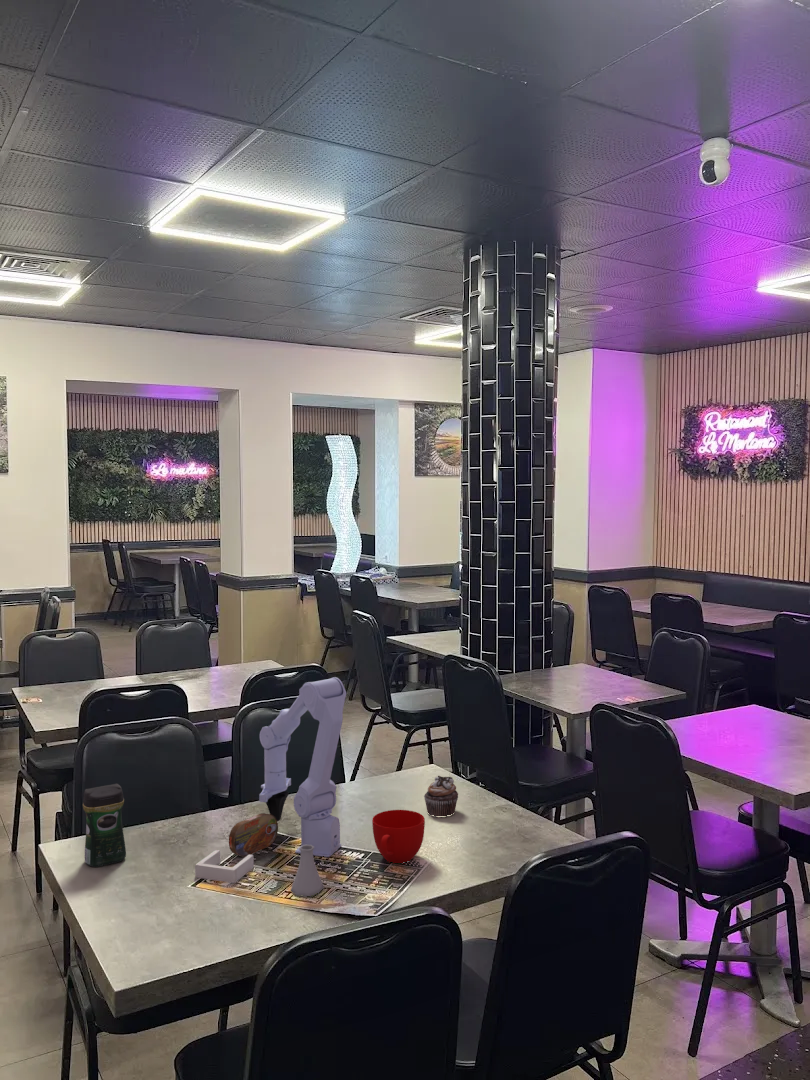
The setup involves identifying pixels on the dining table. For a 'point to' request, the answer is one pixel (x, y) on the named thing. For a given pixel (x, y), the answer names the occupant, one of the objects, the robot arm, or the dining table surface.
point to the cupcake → (441, 797)
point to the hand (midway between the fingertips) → (275, 820)
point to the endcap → (222, 868)
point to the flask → (307, 874)
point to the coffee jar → (104, 825)
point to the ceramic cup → (398, 834)
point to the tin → (253, 834)
